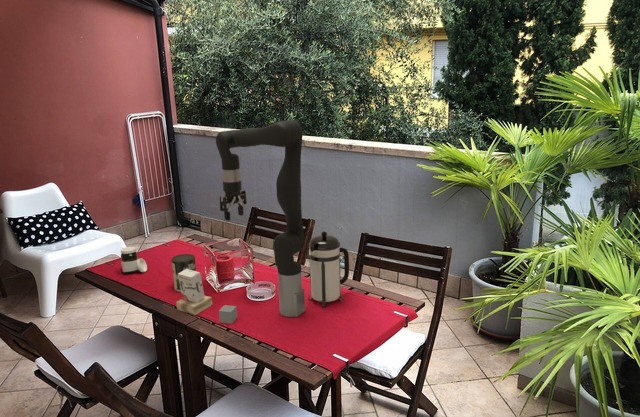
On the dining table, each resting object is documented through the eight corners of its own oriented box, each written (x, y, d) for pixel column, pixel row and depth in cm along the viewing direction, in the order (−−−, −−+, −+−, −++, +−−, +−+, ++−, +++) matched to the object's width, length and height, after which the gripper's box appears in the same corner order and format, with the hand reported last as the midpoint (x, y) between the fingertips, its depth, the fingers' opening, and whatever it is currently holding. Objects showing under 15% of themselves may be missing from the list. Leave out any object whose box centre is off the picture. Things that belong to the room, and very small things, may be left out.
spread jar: (121, 269, 254) (118, 247, 251) (145, 265, 258) (142, 243, 255) (123, 277, 243) (120, 254, 240) (148, 273, 248) (145, 250, 245)
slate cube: (237, 318, 200) (236, 306, 198) (231, 324, 195) (230, 312, 194) (225, 316, 201) (224, 305, 200) (219, 322, 196) (218, 310, 195)
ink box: (181, 299, 209) (177, 273, 206) (190, 294, 213) (186, 268, 210) (196, 304, 205) (192, 276, 201) (205, 298, 209) (201, 272, 205)
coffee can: (202, 285, 231) (199, 256, 227) (184, 293, 223) (181, 263, 219) (188, 280, 237) (185, 252, 233) (169, 288, 229) (166, 258, 225)
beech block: (212, 306, 212) (211, 297, 211) (195, 316, 203) (194, 306, 202) (194, 301, 216) (193, 292, 215) (177, 310, 208) (176, 301, 207)
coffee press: (343, 309, 204) (342, 238, 196) (304, 306, 207) (301, 236, 200) (349, 291, 221) (348, 225, 213) (313, 289, 224) (311, 223, 216)
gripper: (227, 183, 201) (230, 223, 206) (249, 177, 213) (252, 214, 217) (213, 182, 205) (216, 221, 209) (235, 175, 217) (238, 212, 221)
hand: (234, 217), depth 213 cm, fingers open, 8 cm apart
